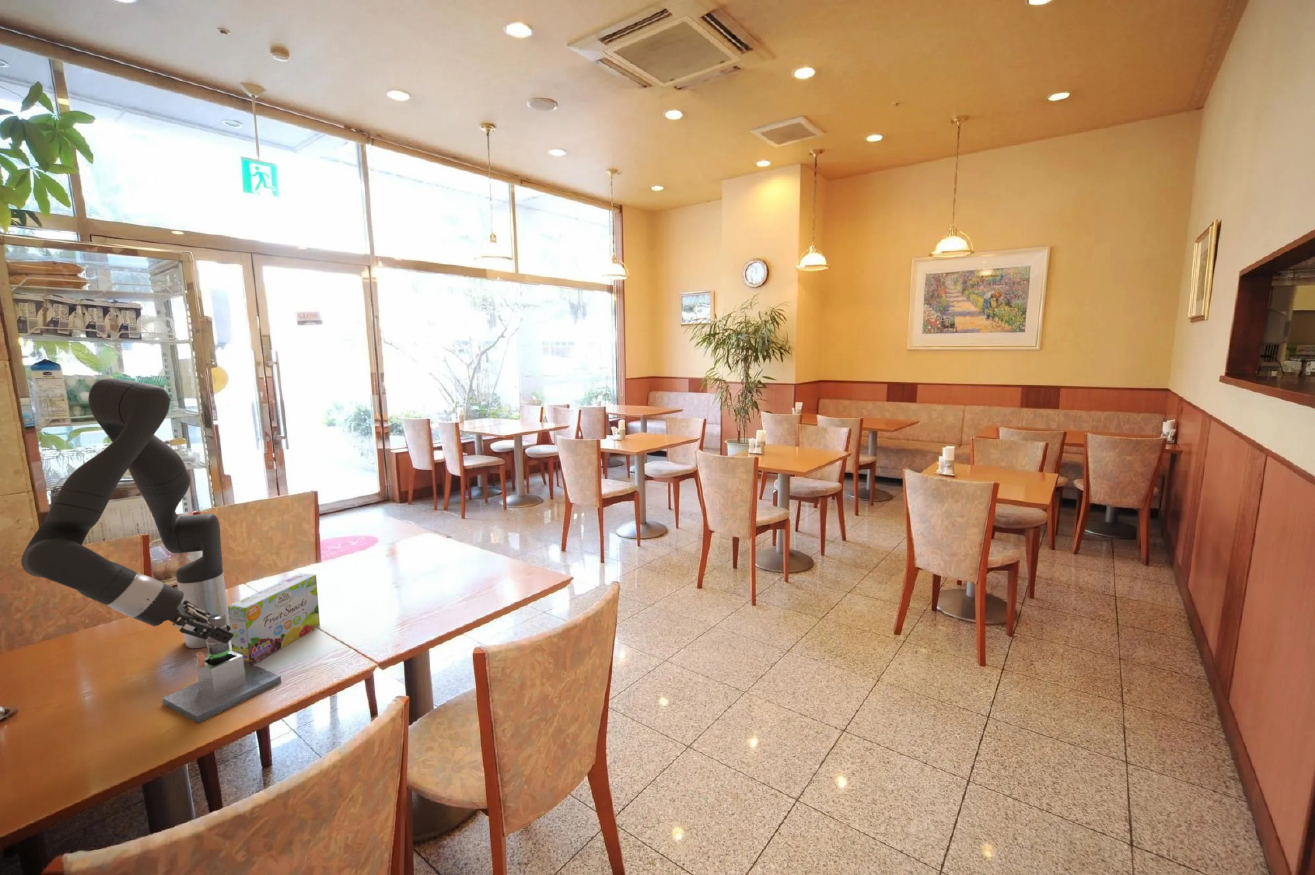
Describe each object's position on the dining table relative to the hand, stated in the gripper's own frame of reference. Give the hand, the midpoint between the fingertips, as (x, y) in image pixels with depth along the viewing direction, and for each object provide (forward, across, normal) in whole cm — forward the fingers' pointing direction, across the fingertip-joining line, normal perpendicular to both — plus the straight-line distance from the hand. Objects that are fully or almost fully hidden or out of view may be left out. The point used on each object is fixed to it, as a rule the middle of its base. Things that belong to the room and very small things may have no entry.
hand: (228, 635), depth 123 cm
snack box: (+17, +16, +1) cm, 24 cm away
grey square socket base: (+8, 0, +10) cm, 13 cm away
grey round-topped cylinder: (+4, 0, +7) cm, 8 cm away
